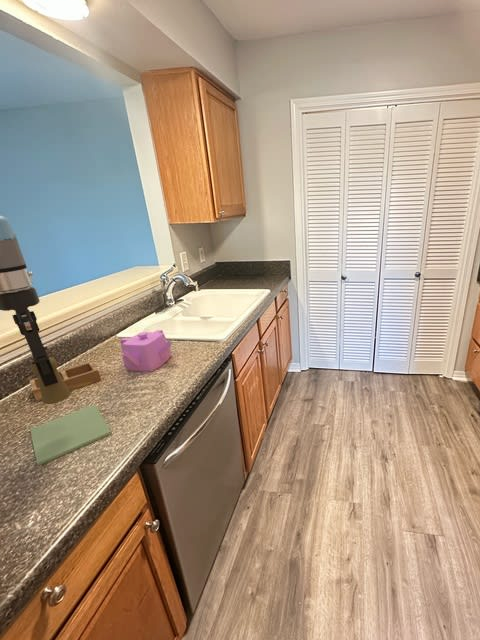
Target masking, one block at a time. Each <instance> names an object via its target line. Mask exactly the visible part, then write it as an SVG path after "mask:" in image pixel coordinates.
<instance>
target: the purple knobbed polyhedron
mask: <svg viewBox="0 0 480 640" xmlns="http://www.w3.org/2000/svg"><path fill="white" fill-rule="evenodd" d="M172 344H173V341H170V340H168V338H167V337H166V335H165V333H164V331H163V330H162V329H156V330H155V331H151V332H150V331H142V332H139V333H136V334H135V335H134V336H132V337H123V338H120V347H121V353H122V354H121V356H122V362H123V365H124V367H125V368H126V370H127V371H131V372H146V373H147V372H148V373H149V372H153V371H156V370H157V369H158V368H160V367H161V366H162V365H164V364H166V362H167V361H168V360H169V359H170V358H171V356H172V350H171V346H172Z"/></svg>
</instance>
